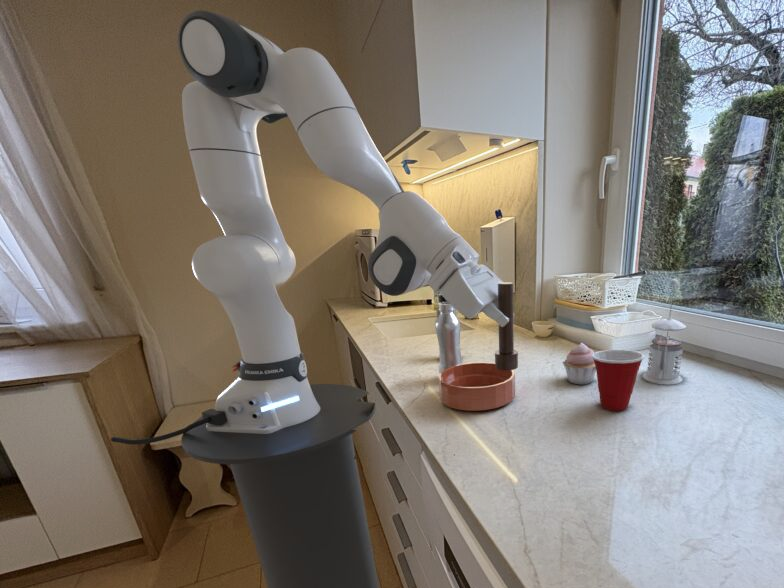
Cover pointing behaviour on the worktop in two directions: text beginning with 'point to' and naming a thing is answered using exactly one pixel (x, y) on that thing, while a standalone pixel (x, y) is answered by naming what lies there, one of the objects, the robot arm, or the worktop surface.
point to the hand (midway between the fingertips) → (509, 321)
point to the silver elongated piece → (448, 336)
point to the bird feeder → (665, 352)
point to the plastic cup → (616, 376)
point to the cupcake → (580, 365)
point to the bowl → (476, 386)
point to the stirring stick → (506, 330)
